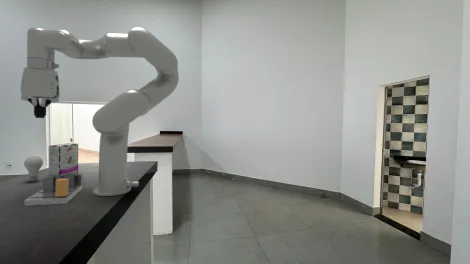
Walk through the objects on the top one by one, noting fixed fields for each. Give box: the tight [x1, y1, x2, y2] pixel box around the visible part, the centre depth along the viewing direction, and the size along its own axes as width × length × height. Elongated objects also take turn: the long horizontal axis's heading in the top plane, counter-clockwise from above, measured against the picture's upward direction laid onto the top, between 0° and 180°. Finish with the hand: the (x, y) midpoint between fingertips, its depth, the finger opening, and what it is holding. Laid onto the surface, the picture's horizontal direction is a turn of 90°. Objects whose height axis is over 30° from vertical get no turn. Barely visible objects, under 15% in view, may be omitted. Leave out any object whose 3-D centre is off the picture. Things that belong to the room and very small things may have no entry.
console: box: [24, 173, 84, 207], centre depth 82 cm, size 11×18×7 cm, turn 19°
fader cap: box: [55, 178, 69, 197], centre depth 77 cm, size 3×2×5 cm
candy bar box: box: [48, 142, 79, 175], centre depth 99 cm, size 11×5×16 cm, turn 179°
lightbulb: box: [23, 155, 44, 182], centre depth 99 cm, size 6×6×11 cm
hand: (40, 117), depth 84 cm, fingers closed
